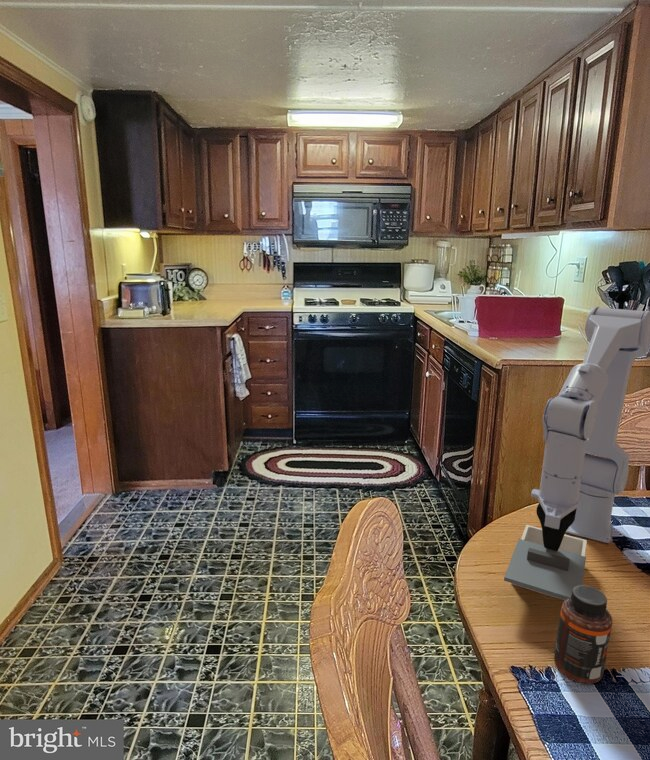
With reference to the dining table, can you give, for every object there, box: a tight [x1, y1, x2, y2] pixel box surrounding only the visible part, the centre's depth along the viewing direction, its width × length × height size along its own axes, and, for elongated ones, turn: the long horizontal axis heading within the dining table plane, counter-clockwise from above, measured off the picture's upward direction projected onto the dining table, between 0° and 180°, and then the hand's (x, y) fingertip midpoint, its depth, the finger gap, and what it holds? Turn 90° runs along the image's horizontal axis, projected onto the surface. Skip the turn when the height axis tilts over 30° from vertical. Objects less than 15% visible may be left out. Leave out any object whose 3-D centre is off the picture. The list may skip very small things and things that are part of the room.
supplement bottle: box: [553, 584, 613, 685], centre depth 66 cm, size 6×6×11 cm
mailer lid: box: [503, 538, 587, 601], centre depth 79 cm, size 12×10×2 cm
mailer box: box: [510, 524, 588, 601], centre depth 87 cm, size 12×10×5 cm
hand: (551, 547), depth 84 cm, fingers closed
